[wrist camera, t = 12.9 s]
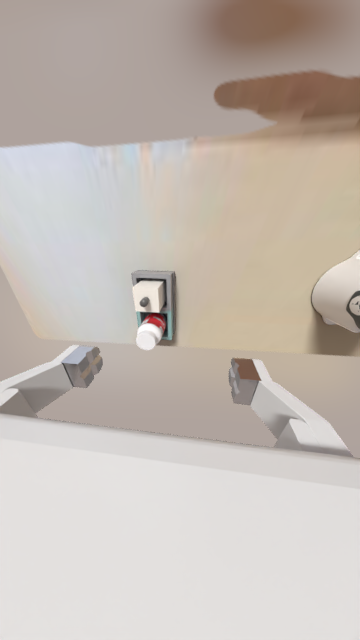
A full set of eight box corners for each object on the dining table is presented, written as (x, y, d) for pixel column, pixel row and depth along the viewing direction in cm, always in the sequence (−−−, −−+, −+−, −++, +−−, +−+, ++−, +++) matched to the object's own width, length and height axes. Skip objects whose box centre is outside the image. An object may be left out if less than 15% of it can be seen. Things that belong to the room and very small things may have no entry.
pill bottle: (171, 323, 45) (164, 346, 36) (155, 332, 47) (144, 356, 38) (158, 306, 43) (147, 326, 34) (142, 316, 45) (127, 338, 36)
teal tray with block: (174, 270, 40) (166, 281, 30) (175, 331, 49) (168, 356, 38) (137, 269, 41) (116, 280, 31) (144, 329, 50) (129, 353, 39)
